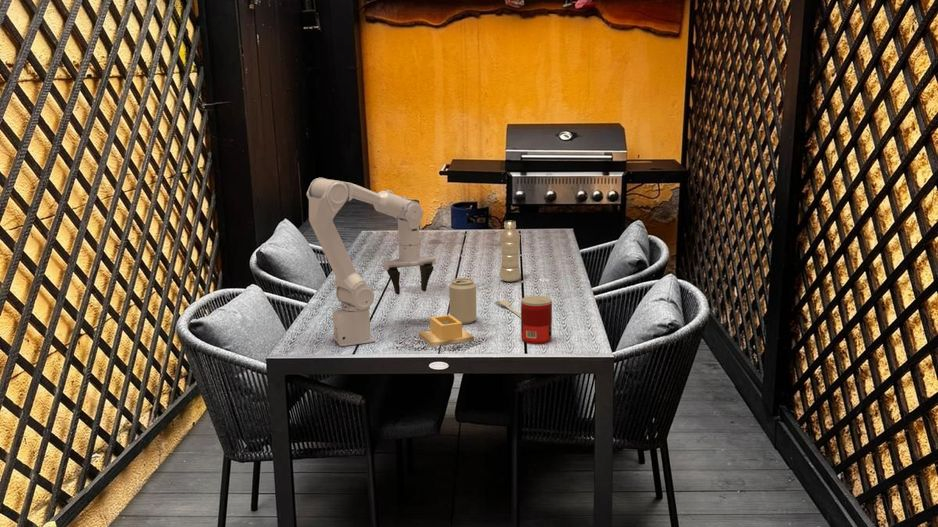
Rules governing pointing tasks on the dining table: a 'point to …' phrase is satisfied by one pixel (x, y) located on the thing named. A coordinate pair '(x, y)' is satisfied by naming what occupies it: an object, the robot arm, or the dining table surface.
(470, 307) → the can
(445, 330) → the link
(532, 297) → the canned food
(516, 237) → the plastic bottle
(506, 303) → the fork
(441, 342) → the wooden block with peg
